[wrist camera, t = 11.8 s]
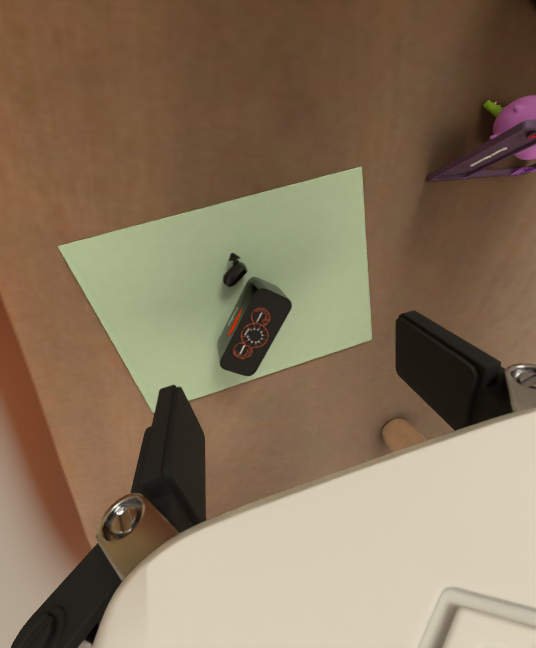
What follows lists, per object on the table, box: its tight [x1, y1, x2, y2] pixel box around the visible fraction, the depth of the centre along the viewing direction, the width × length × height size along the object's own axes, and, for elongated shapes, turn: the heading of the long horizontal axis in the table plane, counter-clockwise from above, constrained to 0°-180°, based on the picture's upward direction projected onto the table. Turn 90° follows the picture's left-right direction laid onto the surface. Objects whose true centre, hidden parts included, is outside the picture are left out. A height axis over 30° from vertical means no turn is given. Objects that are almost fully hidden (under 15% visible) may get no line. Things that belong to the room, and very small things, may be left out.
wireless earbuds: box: [217, 253, 292, 376], centre depth 20 cm, size 5×7×3 cm, turn 152°
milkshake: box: [382, 418, 427, 452], centre depth 28 cm, size 4×5×10 cm
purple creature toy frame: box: [428, 95, 536, 182], centre depth 18 cm, size 7×5×9 cm
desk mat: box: [58, 167, 372, 413], centre depth 21 cm, size 14×20×1 cm
